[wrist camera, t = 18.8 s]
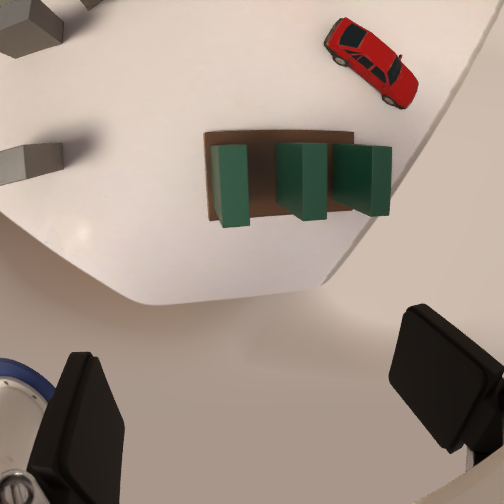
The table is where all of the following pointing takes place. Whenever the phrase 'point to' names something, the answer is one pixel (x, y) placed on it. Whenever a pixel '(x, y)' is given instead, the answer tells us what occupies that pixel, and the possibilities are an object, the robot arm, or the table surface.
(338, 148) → the green book
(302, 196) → the green book
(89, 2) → the electronic device
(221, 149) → the green book
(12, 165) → the grey book
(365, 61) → the toy car
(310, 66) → the table surface
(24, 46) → the grey book
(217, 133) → the shelf plank
